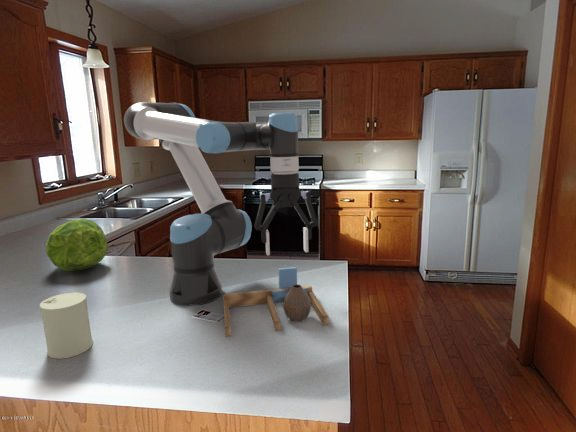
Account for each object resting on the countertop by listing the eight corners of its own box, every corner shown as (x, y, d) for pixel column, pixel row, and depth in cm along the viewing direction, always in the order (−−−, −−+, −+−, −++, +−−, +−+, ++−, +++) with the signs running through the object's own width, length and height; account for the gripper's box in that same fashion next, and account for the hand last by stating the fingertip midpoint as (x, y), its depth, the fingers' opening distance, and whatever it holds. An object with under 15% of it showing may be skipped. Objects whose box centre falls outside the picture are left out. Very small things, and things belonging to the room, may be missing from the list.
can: (59, 338, 95) (51, 291, 93) (99, 336, 96) (92, 289, 93) (38, 360, 86) (29, 308, 84) (83, 357, 87) (75, 305, 84)
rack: (225, 336, 94) (224, 322, 93) (223, 306, 111) (223, 294, 110) (327, 324, 98) (327, 311, 97) (311, 297, 115) (311, 285, 114)
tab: (279, 290, 113) (279, 269, 112) (279, 288, 114) (278, 268, 113) (297, 288, 114) (296, 268, 112) (296, 286, 115) (295, 266, 114)
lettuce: (91, 257, 161) (75, 214, 156) (122, 259, 146) (106, 212, 142) (41, 278, 146) (23, 231, 142) (70, 282, 132) (51, 231, 128)
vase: (314, 314, 104) (313, 282, 102) (306, 326, 98) (305, 292, 96) (289, 310, 106) (288, 279, 105) (279, 322, 100) (278, 289, 98)
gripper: (243, 175, 101) (247, 259, 106) (329, 172, 105) (330, 253, 110) (241, 173, 109) (245, 251, 113) (322, 169, 112) (322, 245, 117)
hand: (287, 252), depth 112 cm, fingers open, 10 cm apart
